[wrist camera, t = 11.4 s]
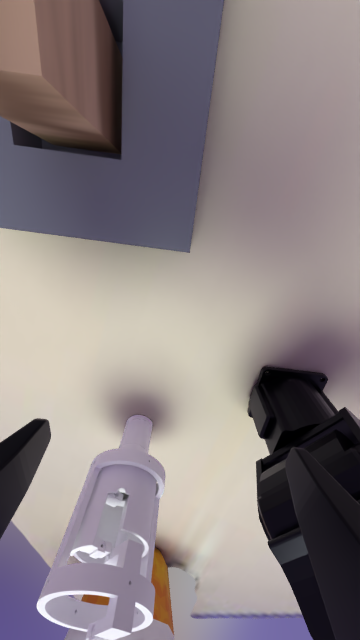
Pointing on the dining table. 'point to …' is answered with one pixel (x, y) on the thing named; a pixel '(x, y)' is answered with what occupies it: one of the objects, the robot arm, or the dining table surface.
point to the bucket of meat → (160, 631)
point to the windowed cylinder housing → (110, 542)
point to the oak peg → (61, 73)
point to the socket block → (127, 138)
